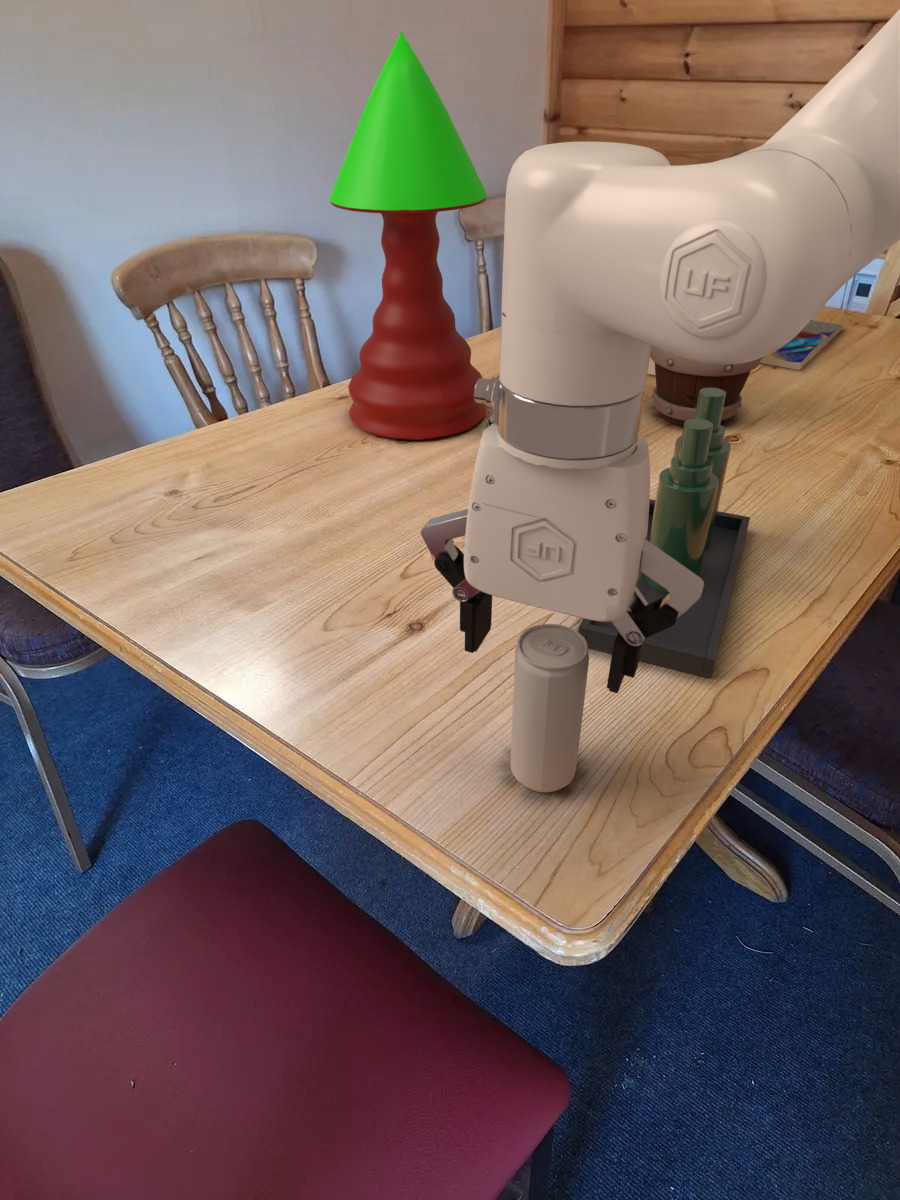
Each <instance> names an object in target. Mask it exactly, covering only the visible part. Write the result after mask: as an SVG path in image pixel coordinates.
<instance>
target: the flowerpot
mask: <svg viewBox="0 0 900 1200" xmlns="http://www.w3.org/2000/svg"><path fill="white" fill-rule="evenodd" d="M650 357H651V359H652V360H653V361H654V362H655V375H654V376H655V387H654V389H653V390H652V393H651V398H652V401H653V406H654V407H655V409H656V410H657V413H658V415H659V416H661V418H662V419H664V420H665V421H666V422H669V423H672V424H674V425H676V426H681V427H684V423H685V421H686V420H689V419H695V414H696V408H697V403H698V397H699V391H700V390H701V389H703V388H718V389H721V390H724V391H725V392H726V397H725V402H724V407H723V412H722V417H721V422H720V425H721V424H727V422H729V421H730V420H731V417H733V416H735V414H736V413H737V412H738V410H739V409H741V408H742V400H743V399H742V395H741V393H742V391H743V389H744V387H745V385H746V383H747V381H748V378H749V376H750V375H751V371H753V370H755V369H756V368H757V367H758V366H759V365H760V364H761V363H760V361H761V359H762V358H764V357H762V358H759V359H757V360H754V361H750V362H746V363H740V364H730V365H720V364H709V363H703V362H699V361H695V360H691V359H687V358H684V357H681V356H678V355H675V354H673V353H670V352H668V351H665V350H663V349H660V348H658V347H655V346H653V345H652V347H651V353H650Z"/></svg>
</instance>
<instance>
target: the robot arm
mask: <svg viewBox="0 0 900 1200" xmlns="http://www.w3.org/2000/svg"><path fill="white" fill-rule="evenodd" d="M505 189H506V190H505V202H504V226H503V227H504V228H503V253H502V254H503V256H502V283H501V285H502V286H501V309H500V310H501V311H500V313H501V314H500V341H499V342H500V345H499V351H500V352H499V375H498V376H497V377H491V378H490V379H489V378H484V377H482V378H479V379H478V380H477V382H476V385H475V389H474V400H475V402H477V403H483V404H485V406H487V407H488V408H492V413H493V415H494V423H493V424H492V425H491V426H489V427H488V428H486V427H485V429H484V430H483V432H482V434H481V436H480V437H481V438H480V440H479V445H478V449H477V452H476V457H475V462H474V467H473V474H472V479H471V484H470V485H471V486H470V492H469V500H468V507H467V508H465V509H462V510H458V511H454V512H450V513H448V514H444V515H440V516H437V517H433V518H430V519H429V520H428V522H426V524H424V526H423V527H422V528H421V530H420V535H421V537H422V539H423V541H424V544H425V545H426V547H427V549H428V551H429V553H430V555H431V556H433V558H434V562H433V563H434V567H435V569H436V570H437V571H438V572H439V573H440V575H441V576H442V577H443V578H444V579H445V581H446V582H448V584H449V585H450V587H452V588H453V589H452V591H451V593H452V597H454V599H455V600H456V601H458V602H459V631H460V632H462V633H464V651H465V652H467V653H471V654H473V653H474V652H475V653H476V652H477V651H478V650H479V648H481V645H482V644H483V642H484V640H485V639H486V637H488V634H489V633H490V631H491V629H492V618H493V617H492V615H493V614H492V613H493V597H496V598H501V599H503V600H507V601H512V602H514V603H520V604H523V605H528V606H532V607H535V608H539V609H543V610H547V611H550V612H555V613H559V614H563V615H568V616H572V617H576V618H580V619H583V618H584V619H588V620H593V621H600V622H610V621H612V623H613V624H614V626H615V627H616V629H617V630H618V631H619V632H618V635H617V637H616V640H615V642H614V645H613V651H612V654H611V658H610V664H609V671H608V677H607V683H606V689H607V690H608V692H611V693H615V694H618V693H619V690H620V688H621V685H622V684H623V683H622V682H623V680H624V678H625V676H626V677H629V678H635V676H636V672H637V670H638V666H639V663H640V661H639V658H640V653H641V648H642V644H643V642H644V640H645V638H648V637H650V636H652V635H654V634H656V633H658V632H661V631H663V630H665V629H667V628H669V627H671V626H673V625H674V624H675V623H676V620H677V619H678V618H679V617H680V616H681V615H683V614H684V613H685V612H686V611H688V610H689V609H690V608H691V607H692V606H693V605H694V604H695V603H696V602H697V601H698V600H699V599H700V597H701V594H702V590H703V587H704V582H703V580H702V579H701V578H700V577H699V576H697V575H696V574H694V573H693V572H692V571H690V570H689V569H687V568H686V567H685V566H683V565H682V564H680V563H679V562H677V561H676V560H675V559H673V558H672V557H670V556H669V555H668V554H666V553H665V552H663V551H662V550H660V549H659V548H658V547H656V546H655V545H653V544H652V543H651V542H649V541H648V540H647V530H648V518H649V502H650V499H651V466H650V465H651V464H650V449H649V443H648V441H647V439H646V438H645V436H643V435H642V434H639V432H640V431H639V430H640V424H641V419H642V418H641V417H642V412H643V406H644V405H643V404H644V399H645V393H646V392H645V390H646V386H647V379H648V374H647V373H648V367H649V360H650V353H651V347H652V345H653V346H655V347H658V348H660V349H663V350H665V351H668V352H670V353H673V354H675V355H678V356H681V357H684V358H687V359H691V360H695V361H699V362H703V363H709V364H720V365H730V364H740V363H746V362H750V361H754V360H757V359H759V358H762V357H765V356H767V355H769V354H771V353H773V352H775V351H776V350H778V349H780V348H781V347H783V346H784V345H785V344H787V343H788V342H790V341H791V340H792V339H793V338H794V337H795V336H797V335H798V334H799V333H800V331H801V330H802V329H803V328H804V327H805V326H806V325H807V324H808V323H809V322H810V321H811V320H813V319H814V318H815V317H816V316H817V314H819V313H820V312H821V310H822V309H823V308H824V307H825V305H826V304H827V303H828V301H829V300H830V299H832V297H833V296H834V295H836V293H837V292H838V291H839V290H840V289H842V287H843V286H844V285H846V284H847V282H849V281H850V280H851V279H852V278H853V277H854V276H856V275H857V274H858V273H859V272H861V271H862V270H863V269H864V268H866V267H867V266H868V265H870V264H871V263H872V262H873V261H874V260H876V259H877V258H878V257H880V256H881V255H882V254H884V253H885V252H886V251H888V250H889V248H891V247H892V246H893V245H896V244H897V242H899V241H900V8H899V9H898V10H897V11H896V12H895V13H894V14H893V16H892V17H890V19H889V20H888V21H887V22H886V23H885V24H884V25H883V26H882V27H881V28H880V29H879V31H878V32H876V34H874V36H873V37H872V38H871V39H870V40H869V41H868V42H867V43H866V44H865V45H864V46H863V47H862V48H861V49H860V50H859V51H858V53H856V54H855V55H854V56H853V57H852V58H851V59H850V60H849V61H848V62H847V64H845V66H843V67H842V68H841V69H839V71H838V72H837V73H836V74H835V75H834V76H833V77H832V78H831V79H830V80H829V81H828V82H827V83H826V84H825V85H824V86H823V87H822V88H820V89H819V91H818V92H817V93H815V95H814V96H813V97H812V98H811V99H810V100H809V101H808V102H806V104H805V105H803V107H802V108H801V109H799V110H798V111H797V112H796V113H795V115H794V116H793V117H791V118H790V119H789V120H788V121H787V122H786V123H785V124H784V125H783V126H782V127H781V128H780V129H779V130H778V131H777V132H775V134H773V136H771V137H770V138H769V139H768V140H767V141H765V142H764V144H762V145H760V146H757V147H755V148H752V149H749V150H746V151H744V152H741V153H739V154H737V155H734V156H731V157H726V158H722V159H719V160H715V161H712V162H705V163H696V164H686V165H684V164H682V165H671V164H670V160H668V158H666V156H665V155H664V154H663V153H661V152H659V151H657V150H655V149H653V148H650V147H648V146H642V145H637V144H632V143H624V142H614V141H613V142H612V141H563V142H554V143H547V144H542V145H537V146H535V147H533V148H530V149H527V150H525V151H524V152H523V153H522V154H521V155H519V156H518V157H517V158H516V159H515V161H514V163H513V164H512V166H511V168H510V170H509V173H508V177H507V180H506V188H505ZM464 536H465V537H464ZM461 537H464V543H463V545H464V546H463V547H464V548H463V551H462V550H461V549H460V548H459V547H458V546H457V545H456V544H454V543H455V541H454V539H456V538H461ZM641 572H642V573H643V574H645V575H646V576H648V577H649V578H651V579H652V580H653V581H655V582H656V583H658V584H659V585H660V586H662V587H663V588H665V589H666V590H667V591H668V592H669V594H668V595H667V596H664V597H662V598H660V599H658V600H656V601H654V602H652V603H650V604H648V602H647V601H646V600H645V598H644V597H643V595H642V594H641V592H640V591H639V589H638V588H637V587H636V583H637V582H638V580H639V578H640V576H641Z"/></svg>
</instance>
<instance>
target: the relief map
mask: <svg viewBox="0 0 900 1200" xmlns="http://www.w3.org/2000/svg"><path fill="white" fill-rule="evenodd" d="M843 326H844V325H843V324H839V323H834V322H833V323H832V322H826V321H820V320H819V321H818V320H813V319H812V320H811V321H810V322H809V323H808V324H807V325H806V326H805V327H804V328H803V329H802V330H801V331H800V333H799V334H798V335H797V336H795V337H794V338H793V339H792V340H791V341H790V342H788V343H787V344H785V345H784V346H783V347H781V348H780V349H778V350H776V351H775V352H773V353H771V354H769V355H767V356H765V357H764V358H762V359H761V361H760V363H759V364H764V365H770V366H775V367H780V368H785V369H790V370H796V371H800V370H802V368H804V366H806V365H807V364H808V363H810V361H811V360H812V359H813V358H814V357H815V356H816V355H817V354H819V352H820V351H821V350H822V349H824V348H825V347H826V346H827V345H828V344H829V343H830V342H831V341H832V340H833V339H834V338H835V337H837V335H838V334H839V333H840V332H841V331H842V330H843Z"/></svg>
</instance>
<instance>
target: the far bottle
mask: <svg viewBox="0 0 900 1200" xmlns="http://www.w3.org/2000/svg"><path fill="white" fill-rule="evenodd" d="M725 397H726V392H725V391H724V390H721V389H718V388H703V389H701V390H700V391H699V397H698V403H697V408H696V414H695V419H704V420H707V421H710V422H711V423H712V424H713V429H712V435H711V440H710V445H709V450H708V455H707V458H708V459H710V460H711V461H712V463H713V467H712V473H713V474H715V475H716V476H717V478H718V480H719V485H718V489H717V494H716V499H715V504H714V509H713V514H712V518H711V523H710V528H709V533H708V538H707V543H706V548H705V550H706V549H707V548H708V547H709V546H710V544H711V539H712V535H713V530H714V525H715V520H716V516H717V511H719V507H720V506H719V505H720V501H721V496H722V492H723V487H724V482H725V477H726V471H727V467H728V463H729V458H730V453H731V449H732V446H731V444H730V441H728V440H727V439H725V435H726V428H725V427H724V426H723V425H721V424H720V422H721V417H722V412H723V407H724V402H725ZM681 440H682V435H680V436H678V437H677V438H676V440H675V443H674V450H673V455H672V458H673V457H674V456H676V455H679V452H680V446H681Z"/></svg>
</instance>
